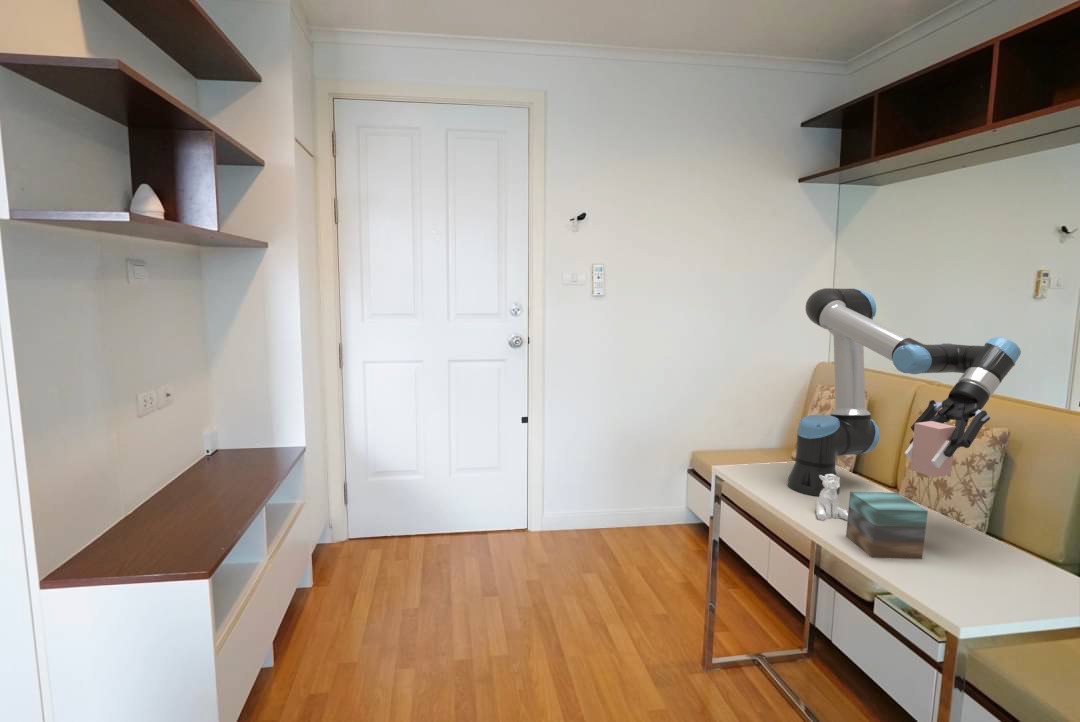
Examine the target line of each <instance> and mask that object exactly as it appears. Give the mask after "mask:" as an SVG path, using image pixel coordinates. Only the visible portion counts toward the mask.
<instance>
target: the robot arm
mask: <svg viewBox="0 0 1080 722" xmlns="http://www.w3.org/2000/svg"><path fill="white" fill-rule="evenodd" d="M876 313H877V303H876V301H875V299H874V297H873V296H872V295H871V294H870V293H869V292H868V291H866V290H864V289H857V288H831V287H829V288H828V287H826V288H821V289H817V290H816V291H813V293H812V294H811V295H810V296H809V297H808V298H807V300H806V302H805V314H806V316H807V318H808V319H809V320H810V321H811V322H812V323H814V324H815V325H816V326H817V327H820V328H822V329H824V330H828V332H829V333H830V334H831V335H832V336H833V360H834V361H833V362H834V363H833V365H834V366H833V367H834V371H833V372H834V400H835V402H834V404H835V407H834V409H833V410H832V411H831V412H830V415H828V414H812V415H811V414H810V415H806V416H804V417H801V419H800V420H799V422H798V428H797V437H796V450H795V451H796V452H795V463H794V465H793V467H792V469H791V470H790V473H789V475H788V478H787V486H788V487H789V488H790V489H792V490H793V491H795V492H799V493H801V494H805V495H809V496H814V497H815V496H816V497H819V496H820V493H821V490H823V488H825V487H824V486H823V484H822V482H823V481H822V480H821V479H820V477H819V475H822V476H825V475H826V474H834V475H836V476H837V477H838V475H837V470H836V466H837V465H836V463H837V457H839V456H850V455H854V456H856V455H857V456H859V455H863V454H867V453H869V452H872V451H873V450H874V449H875V448H876V447H877V446H878V444H879V442H880V437H881V434H880V428H879V426H878V425H877V423H876V422H875V420H873V419H872V416H871V412H870V411H869V410H868V409H866V393H865V392H866V391H865V390H866V389H865V388H866V387H865V386H866V385H865V356H864V355H865V354H864V349H865V348H867V349H869V350H870V351H873V352H874V353H877V354H878V355H880V356H881V357H884V358H886V359H887V360H889V361H892V364H893V365H894V366H895V369H896V370H897V371H899V372H900V373H903V374H910V375H919V374H939V373H940V374H941V373H942V374H943V373H958V374H962V375H961V376H960V377H959V379H958V381H957V382H956V383H955V384H954V386H953V388H952V389H951V390H950V391H949V393H948V396H947V398H945V399H944V400H942V401H941V402H937V401H935V400H933V399H931V400H929V402H928V405H927V407H926V408H925V410H924V411H923V412H922V413H921V414H920V415H919V417H918V418H917V419H916V420H915V421H914V423H913V424H911V426H910V429H911V431H912V432H913V433H914V427H915V423H920V422H927V421H934V422H938V423H942V424H946V423H948V422H950V421H955V422H954V426H955V427H956V428H955V430H954V431H953V434H952V437H951V439H950V440H951V443H950V441H948V440H946V441H945V443H944V444H943V445H942V447H941V448H940V450H939V451H938V452H937V453H936V455H935V456H934V458H933V459H932V460H931V461H932V463H933V464H934V466H935V467H936V468H940V466H941V465H942V464H943V462H944V461H945V460H946V458H947V457H951V456H952V455H953V456H954V454H955V452H956V451H957V449H959V448H961V447H962V448H965V449H968V448H970V447H971V446H972V444H973V442H974V441H975V439H976V438H977V435H978V434H979V433H980V431H981V429H982V428H983V425H984V424H986V423H987V422H988V421H990V419H991V417H990V416H989V414H988V413H987V411H986V410H982V409H983V408H984V406H985V405H986V403H988V401H989V400H990V397H992V395H993V394H994V393H995V391H996V390H997V389H998V387H999V386H1000V384H1001V383H1002V381H1003V380H1004V379H1005V377H1006V376H1007V375H1008V374H1009V373H1010V371H1011V370H1012V369H1013V368H1014V366H1016V363H1017V361H1018V359H1019V358H1020V356H1021V354H1022V351H1021V348H1020V347H1019V345H1018V344H1017V343H1016V342H1015V341H1013V340H1011V339H1009V338H1005V337H1002V336H1001V337H999V336H997V337H995V336H994V337H991V338H989V339H988V340H987V341H986V342H985V343H984V345H967V344H954V343H936V344H925V343H921V342H920V341H918V340H915V339H914V338H911V337H910V336H907V335H906V334H903V333H901V332H899V331H897V330H895V329H893V328H890V327H888V326H886V325H884V324H882V323H880V322H878V321H877V320H874V318H875V316H876ZM864 347H865V348H864ZM971 418H973V419H972V420H971V421H970V422H969V420H970V419H971ZM968 423H969V425H968ZM909 444H910V445H909V446H908V448H906V450H905V451H904V454H905V456H906V457H907V458H908V460H910V461H911V458H912V447H913V437H912V438H911V439H910V440H909ZM840 489H841V486H840V487H839V488H838V489H837V495H839V494H840Z"/></svg>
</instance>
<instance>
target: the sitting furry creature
mask: <svg viewBox="0 0 1080 722" xmlns="http://www.w3.org/2000/svg"><path fill="white" fill-rule="evenodd" d="M819 477H820V479H821V480H822V481H823V482H822V484H823V486H824V487H825V488H823V490H821V493H820V496H818V498H817V499H816V501H815V510H816V511H815V512H816V516H817V519H818V520H820V521H823V520H825V519H839V518H842V520H844V519H845V520H844V521H848V510H847V509H844V508H841V507H840V505H839V504H838V500H839V497H838V496H839V494H837V489H838V488H839V487H840V488H841V485H840V481H841V480H840V479H841V477H840V476H839V477H838V475H837V476H836V475H834V474H826V475H825V476H822V475H819Z"/></svg>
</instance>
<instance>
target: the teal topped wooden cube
mask: <svg viewBox="0 0 1080 722" xmlns="http://www.w3.org/2000/svg"><path fill="white" fill-rule="evenodd" d="M847 512H848V521H847V520H846V521H847V523H846V530H845V536H846V537H847V538H848V539H849V540H850V539H851V541H852V543H853V544H855V545H857V546H858V547H859V548H860V549H861V548H862V549H863V550H862V549H861V550H862V551H864V552H865V553H866V554H867V555H868V556H869V557H871V558H880V559H881V558H883V559H884V558H885V559H912V560H913V559H920V560H922V559H923V553H924V547H925V538H926V528H927V519H928V509H925V508H924V507H922V506H920V505H918V504H917V503H915V502H913V501H912V500H910V499H908V498H906V497H904V495H901V494H900V493H898V492H881V491H880V492H876V491H875V492H874V491H850V493H849V503H848V510H847Z"/></svg>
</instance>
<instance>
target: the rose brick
mask: <svg viewBox="0 0 1080 722" xmlns="http://www.w3.org/2000/svg"><path fill="white" fill-rule="evenodd" d="M914 423H915V422H914ZM955 428H956V427H955V425H950V424H946V423H943V424H942V423H938V422H934V421H927V422H920V423H915V427H914V432H913V437H912V438H913V447H912V458H911V460H910V469H909V471H913V472H916V473H919V474H923V475H925V476H928V477H931V478H937V477H938V478H939V477H943V476H949V475H952V468H953V461H954V454H953V455H952V456H951V457H947V458H946V460H945V461H944V462H943V464H942V465H941V466H940V468H936V467H935V466H934V464H933V463H932V461H931V460H932V459H933V458H934V456H935V455H936V453H937V452H938V451H939V450H940V448H941V447H942V445H943V444H944V443H945V441H946V440H948V441H950V443H951V440H950V439H951V437H952V434H953V431H954V430H955Z"/></svg>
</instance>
